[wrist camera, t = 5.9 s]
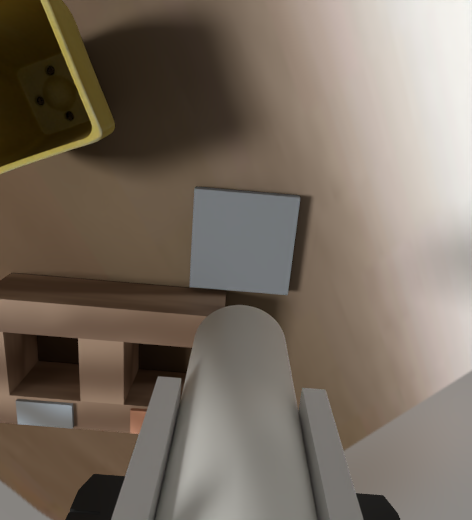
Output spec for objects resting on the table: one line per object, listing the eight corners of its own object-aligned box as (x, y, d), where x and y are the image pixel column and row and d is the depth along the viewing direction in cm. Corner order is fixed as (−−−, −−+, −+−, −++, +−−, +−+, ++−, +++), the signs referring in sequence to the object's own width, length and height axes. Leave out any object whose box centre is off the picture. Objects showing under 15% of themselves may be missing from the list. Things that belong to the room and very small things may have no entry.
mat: (195, 186, 33) (194, 188, 32) (298, 195, 33) (300, 197, 32) (190, 282, 36) (189, 286, 35) (286, 290, 36) (287, 295, 35)
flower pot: (93, 6, 29) (32, -39, 21) (141, 132, 32) (104, 138, 23) (-20, 50, 30) (-123, 25, 22) (36, 169, 33) (-37, 188, 24)
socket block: (11, 272, 36) (-27, 298, 31) (226, 290, 36) (223, 319, 31) (22, 387, 39) (-11, 426, 34) (217, 403, 40) (213, 445, 34)
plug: (195, 300, 18) (54, 837, 5) (292, 308, 18) (429, 865, 5) (190, 382, 19) (70, 982, 6) (281, 390, 19) (361, 1002, 6)
